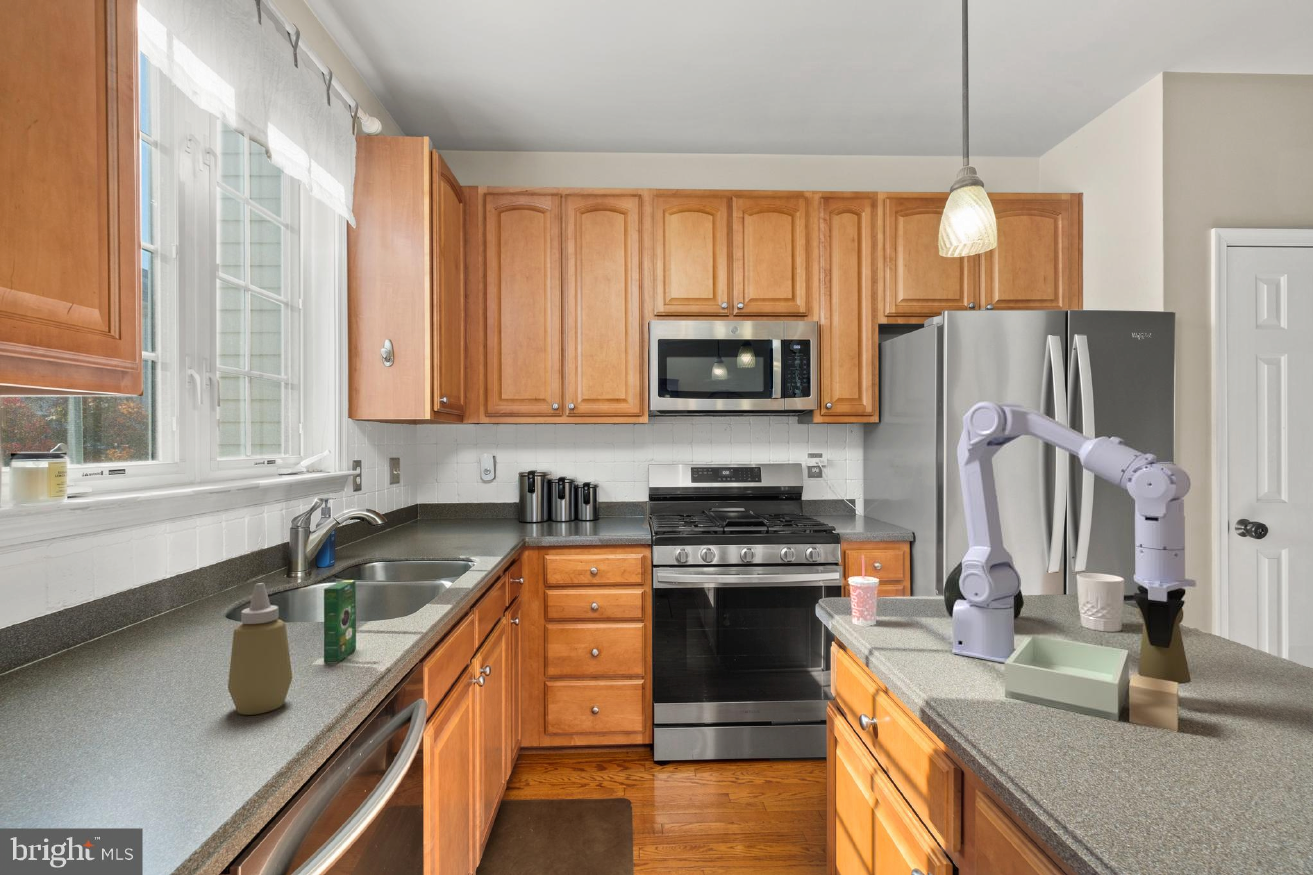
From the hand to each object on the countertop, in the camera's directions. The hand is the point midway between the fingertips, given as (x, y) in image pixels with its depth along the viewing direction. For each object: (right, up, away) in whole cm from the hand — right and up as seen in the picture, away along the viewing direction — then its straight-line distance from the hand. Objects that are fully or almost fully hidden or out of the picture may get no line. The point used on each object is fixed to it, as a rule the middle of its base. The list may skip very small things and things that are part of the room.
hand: (1160, 641), depth 95 cm
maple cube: (-6, -9, -7) cm, 12 cm away
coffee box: (-129, -10, +24) cm, 132 cm away
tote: (-11, -9, +4) cm, 14 cm away
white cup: (+16, -9, +36) cm, 40 cm away
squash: (-6, -9, +40) cm, 41 cm away
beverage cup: (-30, -9, +41) cm, 52 cm away
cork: (0, -5, 0) cm, 5 cm away
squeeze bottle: (-130, -10, +1) cm, 130 cm away
